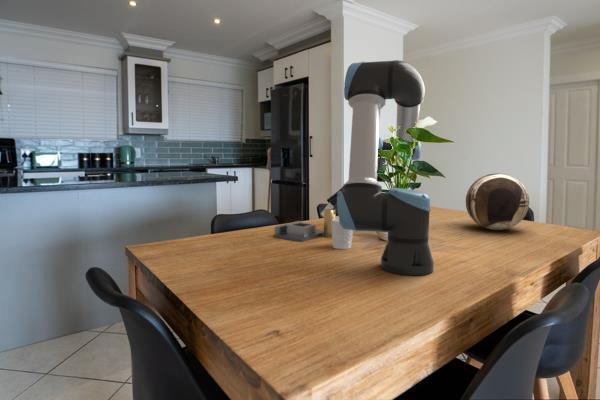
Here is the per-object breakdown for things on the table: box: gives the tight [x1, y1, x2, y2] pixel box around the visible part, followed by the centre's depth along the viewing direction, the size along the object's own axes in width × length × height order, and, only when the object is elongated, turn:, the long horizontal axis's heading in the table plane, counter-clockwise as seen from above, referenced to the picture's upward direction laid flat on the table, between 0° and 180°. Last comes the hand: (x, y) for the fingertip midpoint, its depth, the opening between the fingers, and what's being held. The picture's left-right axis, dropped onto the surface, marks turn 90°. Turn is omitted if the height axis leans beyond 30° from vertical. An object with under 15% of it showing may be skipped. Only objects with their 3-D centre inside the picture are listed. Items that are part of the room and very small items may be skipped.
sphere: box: [465, 172, 530, 231], centre depth 173 cm, size 25×25×25 cm
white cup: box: [331, 217, 354, 250], centre depth 140 cm, size 8×8×10 cm
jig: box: [273, 220, 324, 243], centre depth 159 cm, size 18×14×5 cm
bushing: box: [323, 208, 337, 238], centre depth 158 cm, size 5×5×11 cm
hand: (331, 218), depth 159 cm, fingers open, 13 cm apart
